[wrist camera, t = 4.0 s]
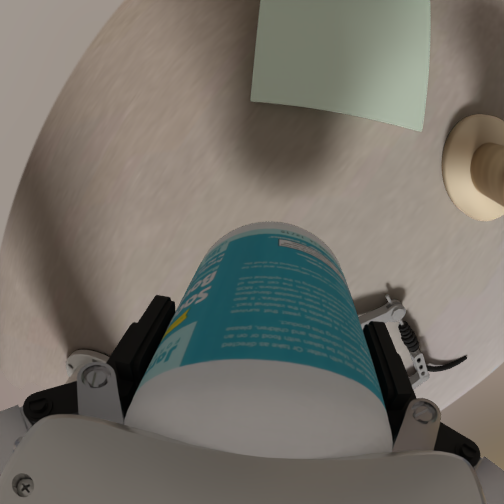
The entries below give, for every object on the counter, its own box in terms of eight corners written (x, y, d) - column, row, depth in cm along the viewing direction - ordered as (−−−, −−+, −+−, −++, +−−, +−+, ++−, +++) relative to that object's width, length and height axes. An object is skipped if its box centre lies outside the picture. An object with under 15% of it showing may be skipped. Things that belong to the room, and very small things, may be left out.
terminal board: (415, 130, 17) (432, 133, 15) (252, 101, 18) (246, 99, 15) (423, -7, 12) (438, -19, 10) (267, -38, 13) (263, -57, 11)
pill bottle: (206, 205, 14) (10, 482, 2) (357, 231, 14) (497, 519, 2) (196, 329, 17) (118, 554, 5) (320, 348, 17) (338, 579, 5)
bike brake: (301, 427, 31) (456, 345, 27) (308, 475, 24) (485, 383, 21) (235, 356, 27) (431, 247, 23) (232, 412, 20) (476, 280, 17)
